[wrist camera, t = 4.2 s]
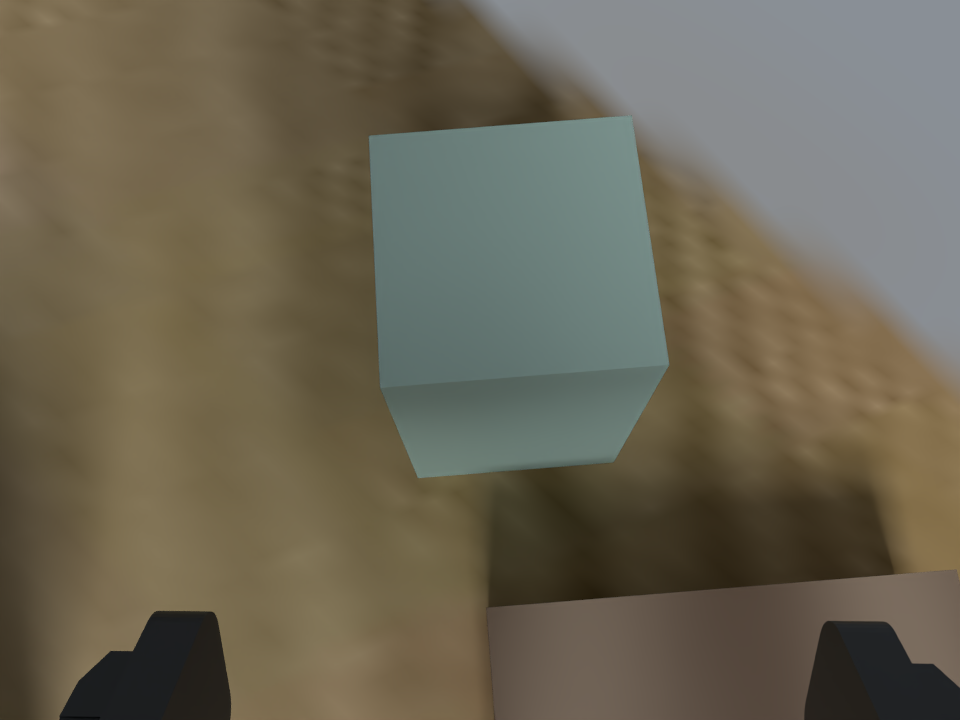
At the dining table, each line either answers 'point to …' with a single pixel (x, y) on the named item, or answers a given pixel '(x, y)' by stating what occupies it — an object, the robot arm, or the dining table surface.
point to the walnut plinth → (704, 647)
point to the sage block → (514, 293)
